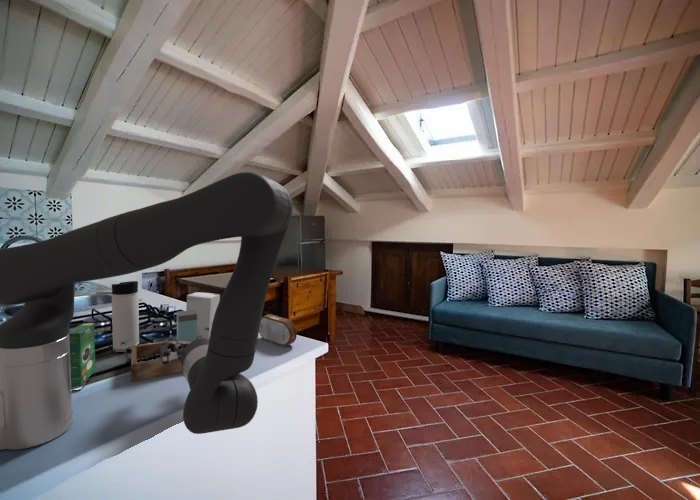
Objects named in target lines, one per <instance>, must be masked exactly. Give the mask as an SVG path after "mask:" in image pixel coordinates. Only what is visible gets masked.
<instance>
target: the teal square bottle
mask: <svg viewBox="0 0 700 500" xmlns="http://www.w3.org/2000/svg"><path fill="white" fill-rule="evenodd" d="M176 340H177V342H179V341H181V340H182V341H187V342H191V341H194V340H197V313H196V312H195V310H188V311H186V310H180V311H176Z"/></svg>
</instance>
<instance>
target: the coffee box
mask: <svg viewBox="0 0 700 500" xmlns="http://www.w3.org/2000/svg"><path fill="white" fill-rule="evenodd" d="M95 339H96V338H95V322H87V323H86V322H85V323H80V324H79V325H77V326H76V327H74V328H73V329H71V330H69V341H70V369H71V387H76V386H82V385H83V383H84V382H85V381H86V380H87V379H88V378H89V377H90V376H91V375H92V374H93V373H94V372H95V373H96V346H95V345H96V344H95V343H96V341H95Z"/></svg>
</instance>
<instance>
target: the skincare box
mask: <svg viewBox="0 0 700 500" xmlns="http://www.w3.org/2000/svg"><path fill="white" fill-rule="evenodd" d="M220 299H221V294H218V293H211V292H198V291H196V292H193V293H190V294H187V295H186V310H185V311H188V310H195V312H196V313H197V336H201V337H202V338H206V339H207V338H209V337H210V331H211V328H212V323H213V319H214V315H215V312H216V309H217V306H218V304H219V301H220Z"/></svg>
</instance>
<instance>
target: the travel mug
mask: <svg viewBox="0 0 700 500" xmlns="http://www.w3.org/2000/svg"><path fill="white" fill-rule="evenodd" d="M138 281H139V280H138ZM138 281H137V280H132V281H131V280H130V281H129V280H128V281H123V282H119V283H116V284H115V283H113V284H111V317H112V321H111V322H112V323H111V325H112V326H111V327H112V351H113V352H114V351H115V353H117V352H124V353H126V352H125V350H126V348H128V347H132V346H135V345H138V344H139V345H140V330H139V329H140V324H139V323H140V319H139V311H140V310H139V289H138V288H139V282H138Z"/></svg>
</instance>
